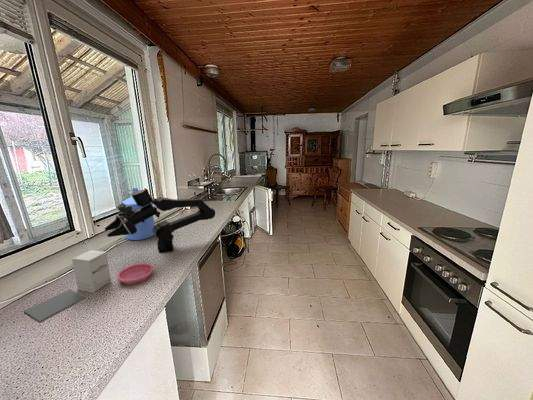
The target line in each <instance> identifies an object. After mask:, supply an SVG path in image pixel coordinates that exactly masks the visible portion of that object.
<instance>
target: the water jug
mask: <svg viewBox="0 0 533 400" xmlns="http://www.w3.org/2000/svg"><path fill="white" fill-rule="evenodd" d="M131 191H132V193H134V192H136V191H139V188H132V189H131ZM132 193H131V194H132ZM121 203H124V204H125V205H126V206H128V205H129V206H130V207H132V210H134V209H137V210H138V209H140V208H142V207H141V206H138V205H137V204H136V202H135V201H134V199H133V197H132V196H131V197H128V198H127V199H124V200H123V201H122V202H120V204H121ZM150 203H151V202H150ZM151 205H152V206H153V205H154V204H153V203H151ZM143 207H144V206H143ZM144 221H145V222H143V223H142V222H140V223H138V224H136V225H135V226H136V229H137V232H136V233H135V234H133V235H132V234H131V233H130V235H124V236H125V239H127V240H129V241H142V240H146V239H148V238H149V239H150V238H152V237H153V236H154V235H155V234H154V233H153V231H152V229H153V227H154V226H155V225H156V223H155V218H154V216H152V217H150V218H148V219H146V220H144Z"/></svg>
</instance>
